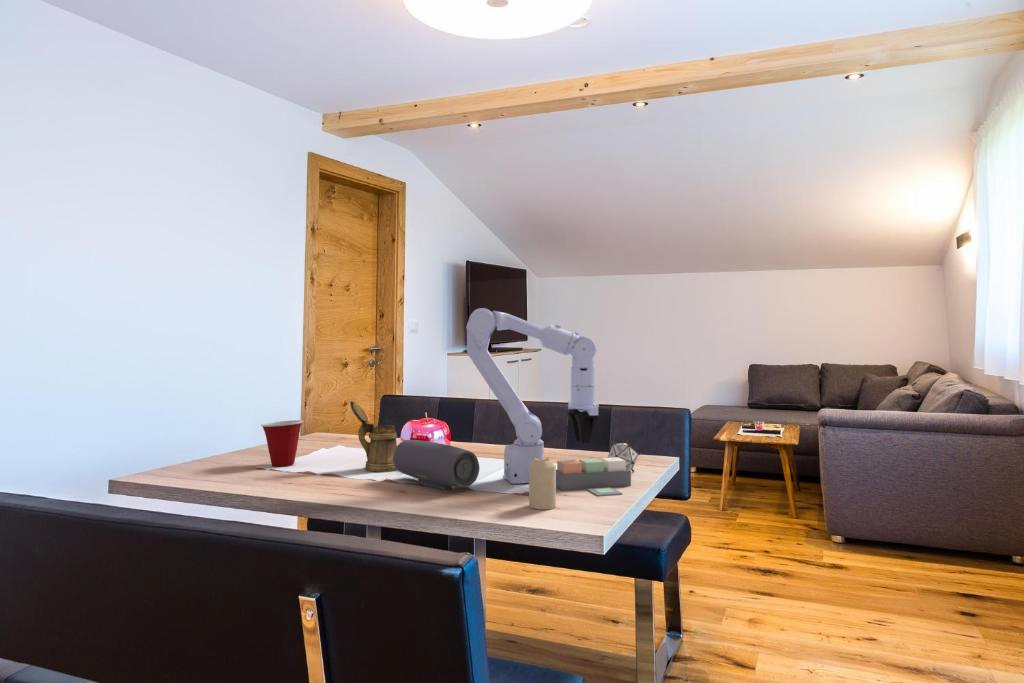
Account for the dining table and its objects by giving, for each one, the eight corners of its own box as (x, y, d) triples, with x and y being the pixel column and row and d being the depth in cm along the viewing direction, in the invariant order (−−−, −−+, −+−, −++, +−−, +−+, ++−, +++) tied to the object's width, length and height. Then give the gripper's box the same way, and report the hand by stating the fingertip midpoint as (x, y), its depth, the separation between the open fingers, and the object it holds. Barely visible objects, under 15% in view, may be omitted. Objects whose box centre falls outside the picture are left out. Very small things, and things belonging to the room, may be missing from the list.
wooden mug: (356, 464, 184) (355, 399, 183) (404, 465, 182) (404, 399, 182) (344, 471, 175) (344, 402, 174) (395, 472, 173) (395, 402, 173)
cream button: (608, 474, 157) (608, 461, 157) (600, 470, 162) (601, 458, 162) (625, 473, 159) (625, 460, 159) (617, 469, 163) (617, 457, 163)
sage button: (586, 475, 156) (586, 462, 156) (579, 471, 160) (579, 459, 160) (603, 474, 157) (603, 461, 157) (596, 470, 161) (596, 458, 161)
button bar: (561, 490, 153) (561, 475, 153) (552, 484, 159) (552, 469, 159) (630, 485, 158) (630, 470, 158) (619, 480, 164) (619, 465, 164)
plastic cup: (281, 460, 190) (280, 417, 190) (311, 462, 186) (311, 419, 186) (252, 466, 180) (252, 422, 180) (283, 470, 176) (283, 424, 176)
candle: (554, 503, 142) (554, 455, 141) (557, 509, 136) (557, 460, 136) (528, 503, 141) (528, 456, 141) (529, 510, 136) (529, 460, 136)
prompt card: (597, 496, 148) (597, 494, 148) (587, 490, 153) (587, 488, 153) (622, 494, 149) (622, 492, 149) (611, 488, 155) (611, 486, 155)
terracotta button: (563, 477, 154) (563, 464, 154) (557, 473, 158) (557, 460, 158) (581, 475, 155) (581, 463, 155) (574, 472, 160) (574, 459, 160)
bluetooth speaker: (481, 489, 154) (481, 446, 154) (450, 496, 147) (450, 451, 147) (421, 474, 170) (421, 435, 170) (391, 480, 164) (390, 439, 163)
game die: (629, 487, 172) (645, 460, 167) (598, 475, 172) (612, 448, 167) (631, 465, 180) (646, 438, 174) (601, 453, 180) (615, 426, 174)
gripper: (610, 388, 158) (610, 445, 158) (586, 383, 172) (586, 436, 172) (582, 388, 156) (582, 447, 156) (560, 384, 170) (560, 437, 170)
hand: (582, 441), depth 164 cm, fingers open, 3 cm apart
